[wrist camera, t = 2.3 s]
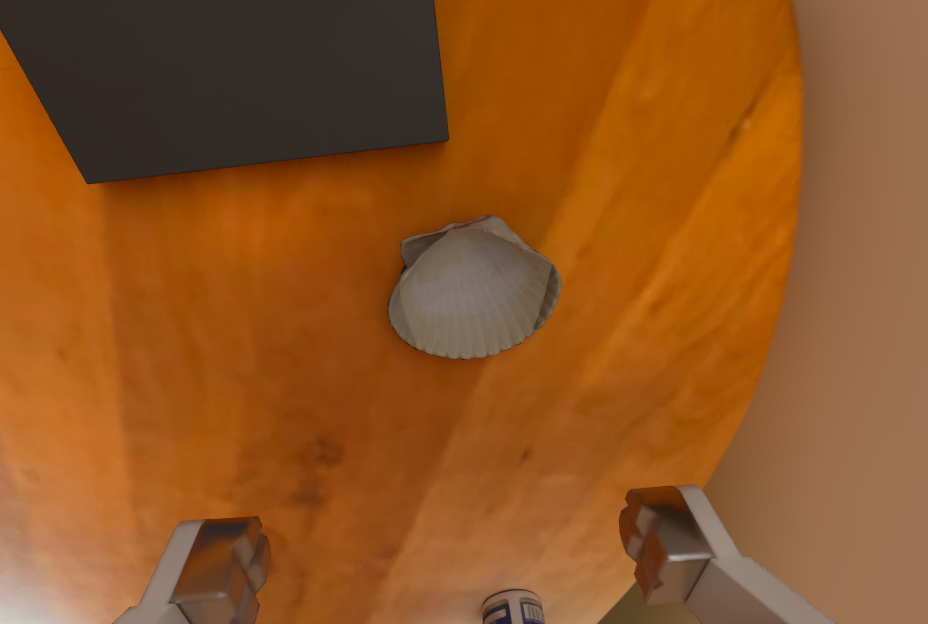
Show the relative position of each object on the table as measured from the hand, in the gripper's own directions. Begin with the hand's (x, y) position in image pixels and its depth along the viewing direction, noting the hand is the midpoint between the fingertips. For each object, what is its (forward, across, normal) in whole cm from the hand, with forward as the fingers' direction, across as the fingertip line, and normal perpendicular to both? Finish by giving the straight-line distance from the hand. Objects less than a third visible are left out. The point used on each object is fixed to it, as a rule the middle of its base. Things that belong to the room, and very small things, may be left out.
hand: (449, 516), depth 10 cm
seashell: (+14, -2, +2) cm, 14 cm away
